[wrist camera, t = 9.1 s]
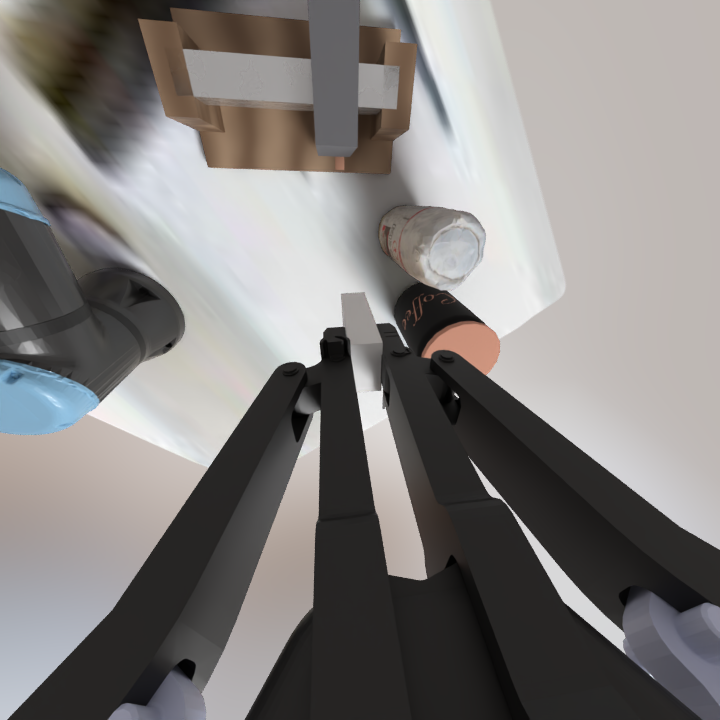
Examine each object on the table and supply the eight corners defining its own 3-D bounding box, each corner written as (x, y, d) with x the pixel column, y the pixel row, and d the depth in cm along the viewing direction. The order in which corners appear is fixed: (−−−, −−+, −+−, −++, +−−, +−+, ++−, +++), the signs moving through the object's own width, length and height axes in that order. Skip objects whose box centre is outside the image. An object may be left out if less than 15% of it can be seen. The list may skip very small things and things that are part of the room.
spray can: (384, 195, 39) (429, 201, 22) (435, 208, 40) (511, 222, 24) (371, 254, 43) (400, 296, 27) (417, 263, 45) (472, 308, 28)
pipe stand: (212, 167, 35) (179, 161, 27) (176, 15, 28) (117, -54, 20) (388, 174, 37) (405, 170, 29) (397, 36, 30) (423, -18, 22)
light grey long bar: (192, 108, 27) (176, 99, 24) (180, 58, 25) (161, 40, 22) (389, 120, 29) (396, 112, 26) (392, 74, 27) (400, 60, 24)
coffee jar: (438, 268, 46) (492, 308, 31) (454, 317, 51) (506, 370, 36) (383, 297, 47) (410, 347, 33) (404, 341, 53) (435, 401, 38)
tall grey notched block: (318, 155, 33) (315, 144, 25) (312, 35, 27) (306, -31, 19) (349, 157, 33) (357, 146, 25) (349, 39, 28) (360, -25, 20)
